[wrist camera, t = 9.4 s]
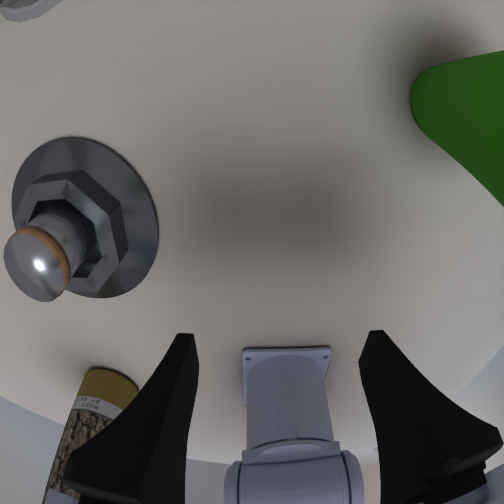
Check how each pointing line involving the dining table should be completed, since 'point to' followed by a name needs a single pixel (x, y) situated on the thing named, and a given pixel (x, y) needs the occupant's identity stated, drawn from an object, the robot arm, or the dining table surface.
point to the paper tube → (89, 418)
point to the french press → (25, 8)
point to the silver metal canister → (49, 250)
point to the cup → (466, 114)
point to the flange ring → (93, 210)
